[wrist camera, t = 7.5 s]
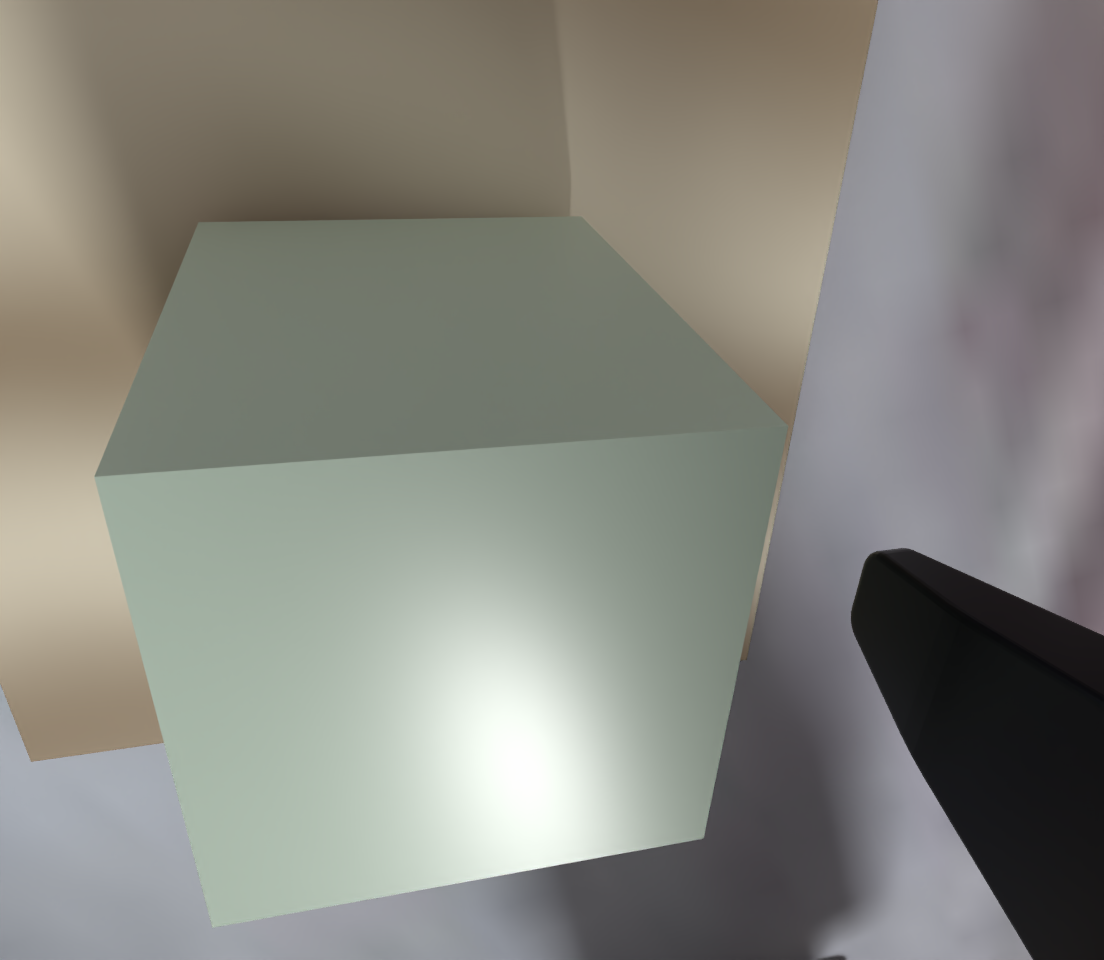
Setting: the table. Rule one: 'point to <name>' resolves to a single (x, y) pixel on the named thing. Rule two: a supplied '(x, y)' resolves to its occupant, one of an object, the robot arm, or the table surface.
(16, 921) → the table surface
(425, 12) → the post board
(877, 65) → the table surface
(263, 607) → the mint green box
